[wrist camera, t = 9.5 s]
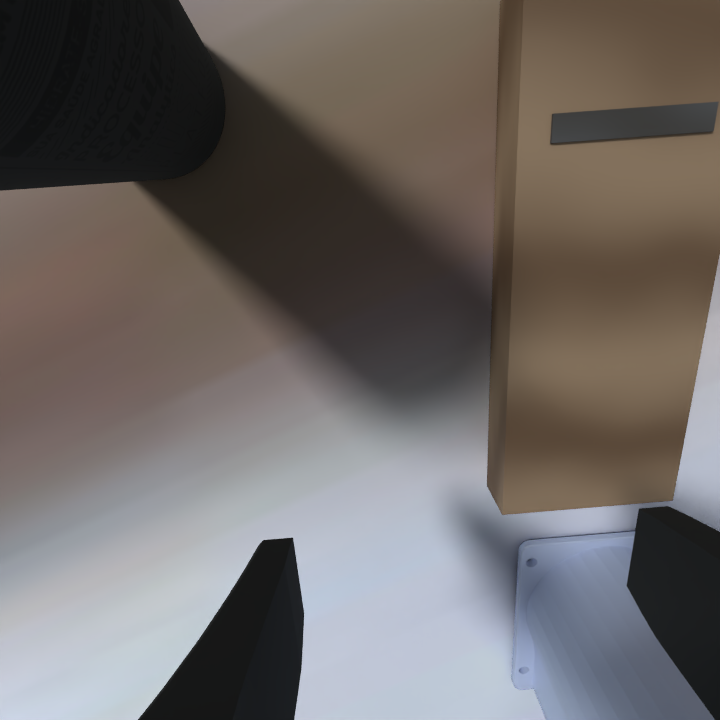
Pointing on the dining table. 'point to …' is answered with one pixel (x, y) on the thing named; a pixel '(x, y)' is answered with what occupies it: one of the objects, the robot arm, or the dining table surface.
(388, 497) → the dining table surface
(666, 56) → the body
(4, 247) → the dining table surface
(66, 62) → the drinking cup
